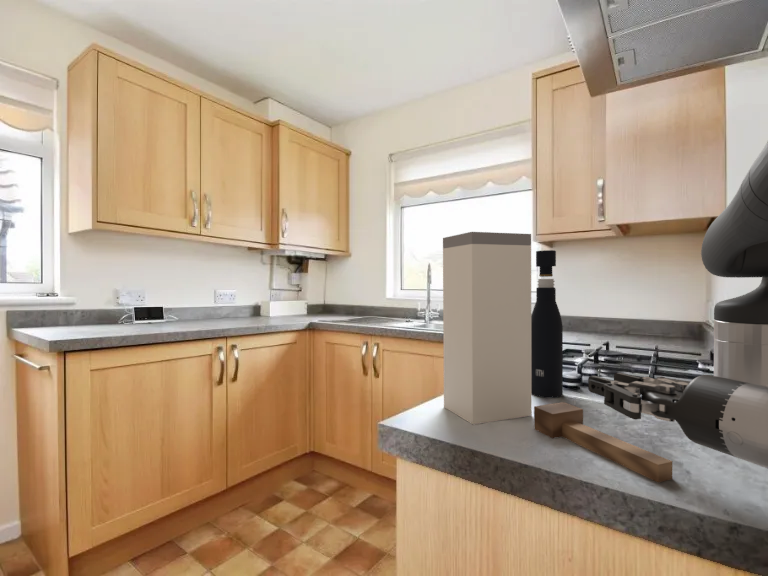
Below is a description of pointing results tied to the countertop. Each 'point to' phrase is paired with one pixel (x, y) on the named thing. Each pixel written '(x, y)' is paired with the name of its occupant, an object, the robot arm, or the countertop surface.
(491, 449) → the countertop surface
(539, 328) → the black bottle
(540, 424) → the mallet
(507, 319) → the stand
